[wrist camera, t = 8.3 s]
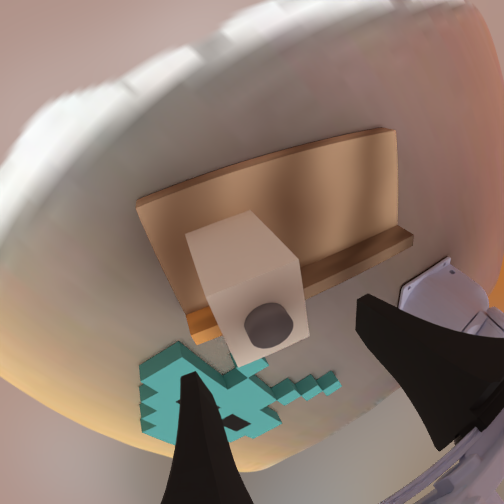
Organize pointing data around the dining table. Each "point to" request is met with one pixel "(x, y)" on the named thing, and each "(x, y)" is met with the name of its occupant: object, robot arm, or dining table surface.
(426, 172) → the dining table surface
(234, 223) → the cream block with knob
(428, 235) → the dining table surface
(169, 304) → the dining table surface
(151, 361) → the alien figure
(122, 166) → the dining table surface
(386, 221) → the board
